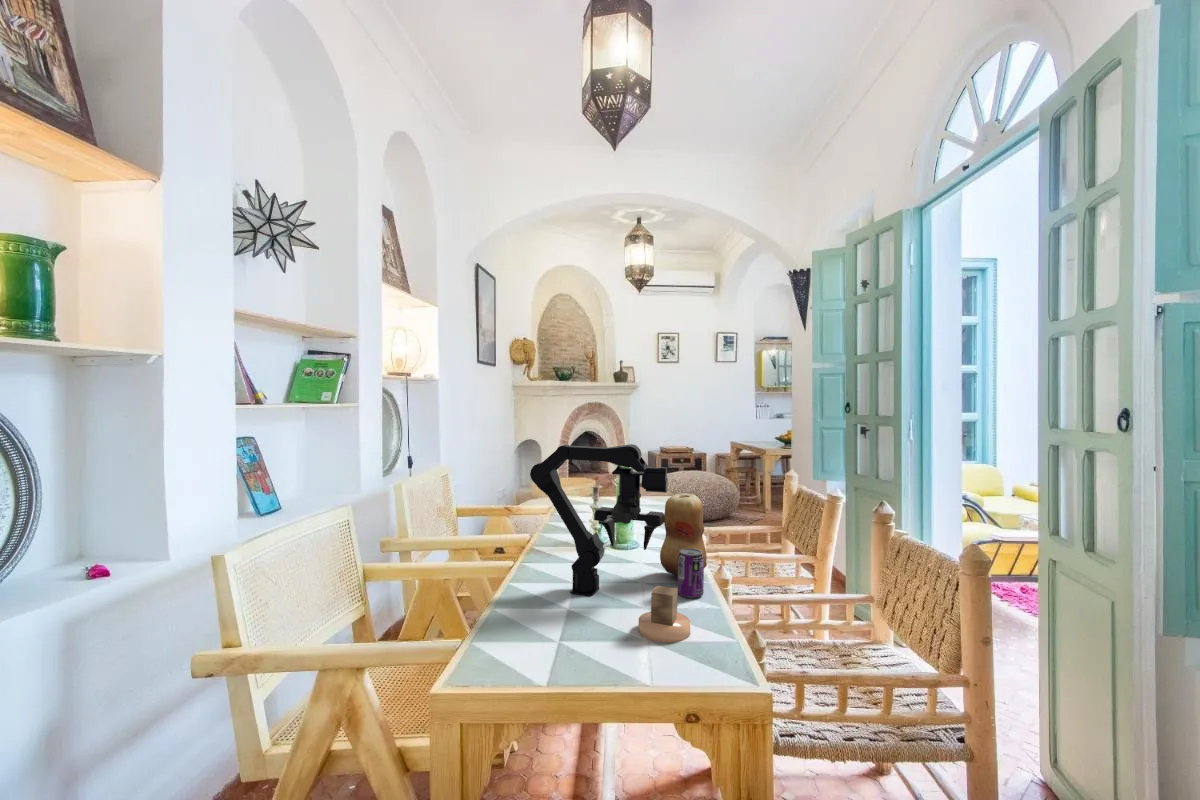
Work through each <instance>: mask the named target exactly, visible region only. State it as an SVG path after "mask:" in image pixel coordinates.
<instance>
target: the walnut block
mask: <svg viewBox="0 0 1200 800" xmlns="http://www.w3.org/2000/svg"><path fill="white" fill-rule="evenodd" d="M650 611H651V623H656V624H663V625H670V626H673V624H674V622H675V620H676V619H677V613H678V592H677V587H672V586H671V587H670V586H669V587H668V586H662V585H656V586H655V587H654V588H653V589H652V591H651V595H650Z"/></svg>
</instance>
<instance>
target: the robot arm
mask: <svg viewBox="0 0 1200 800" xmlns="http://www.w3.org/2000/svg"><path fill="white" fill-rule="evenodd" d="M567 460H571V461H572V460H573V461H591V462H604V463H605V462H606V463H610V464H613V465H616V467H615V469H614V470H613V471H612V472H611V474H612V475H618V476H619V478H618V495H617V497H616V498H617V501H616V503H615V504H614V506H613V507H607V506H606V507H605V506H601V507H599V508H598V509H596V510H595V511H594V514H593V520H594V521H595V522H596V521H598V524H600V525H602V526H603V527H604V528H605V531H606V533H607V537H608V539H609V542H610V546H611V547H614V546H615V541H616V524H619V523H622V524H625V525H628V524H630V523H631V522H632V521H636V522H637V521H639V522H644V523H645V524H646V525H644V526H643V529H644V535H643V550H644V551H646V550H647V547H648V545H649V543H650V540H651V537H652V535H653V533H654V531H655V529H657V528H659V527H661V526H662V525H664V522H665V516H664V514H665V513H664V512H662V511H652V510H651V511H649V512H647V513H646V514H645V513H641V510H642V509H641V497H642V494H641V488H643V489H644V490H645V492H647V493H664V494H665V493H666V494H667V493H668V487H669V483H668V482H669V479H668V472H667V471H668V470H667V466H661V467H656V466H655V467H653V466H652V467H651V466H649V465H648V464H647V462H646V461H645V460H644V458H643V457H642V451H641V449H640V447H639V446H638V445H636V444H630V443H629V444H623V445H617V446H616V445H615V446H609V447H603V446H589V445H588V446H587V445H586V446H584V445H583V446H581V445H569V444H562V445H560V446H558V447H557V448H556V450H555V451H554V452H552V453H551V454H550V455H549V456H547V457H546V458H545V459H544V460H543V461H542V462H539V463H536V464H534V465H533V466H532V467H531V469H530V471H529V477H530V479H531V481H532V482H533V483H534V485H535V486H536V487H537V488H538V489H539V490H541V492H543V493H544V494H545V495H546V496H547V497H548V498H549V500H550V502H551V503H552V505H553V507H554V508H555V510H556V511H557V513H558V515H559V517H560V518H561V521H562V522H563V523H564V525H565V527H566V529H567V531H568V532H569V533H570V535H571V537H572V538H573V542H574V547H575V550H576V553H577V556H578V557H577V558H576V559H575V561H574V562H573V563H572V564H571V570H572V589H571V590H570V591H569V592H570V594H574V595H581V596H590V597H591V596H593V595H595V594H596V593H597V592H598V590H600V575H599V574H598V568H595V567H596V566H598V564H600V562H601V560H602V559H603V558H604V557H605V555H604V554H605V547H604V545H605V542H604V541H602V540H601V538H600V536H599V533H598V532H597V531H595V532H594V533H593V534H592V533H591V532H590V531H589V530H588V529H587V528H586V525H585V524H584V522H583V520H582V519H581V518H580V516H579V514H578V512H577V511H576V510H575V507H574V505H573V504H572V503H571V501H570V500H569V498H568V496H567V495H566V493H565V491H564V489H563V487H562V485H561V484H562V483H561V479H560V476H559V475H560V474H559V472H558V469H559V468H561V467H562V466H563V464H564V463H565V462H566V461H567Z"/></svg>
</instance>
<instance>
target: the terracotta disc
mask: <svg viewBox="0 0 1200 800" xmlns="http://www.w3.org/2000/svg"><path fill="white" fill-rule="evenodd" d="M638 633H639V635H640V636H641V637H643V638H644V639H647V640H649V641H652V642H657V643H664V644H665V643H669V644H671V643H678V642H682V641H684V640H687V639H688V638H689V637H690V635H691V620H690V618H689V617H688V616H686V615H685V614H683V613H680V612H677V619H676V620H675V622H674V624H673V626H670V625H663V624H656V623H651V610H650V611H647V612H644V613H642V614H640V616H639V617H638Z"/></svg>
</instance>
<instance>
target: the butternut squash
mask: <svg viewBox="0 0 1200 800" xmlns="http://www.w3.org/2000/svg"><path fill="white" fill-rule="evenodd" d="M664 505H665V506H664V513H663V514H664V516H665V522H664V523H663V525H664V529H665V530H664V531H665V538H664V541H663V543H662V546H661V548H660V551H659V560H660V564H661V567H663V568H664V570H665V572H667V573H668V574H670V575H672V576H674V577H676V578H677V579H678V556H679V554H680V550H682V549H697V550H700V551H702V556H703V558H704V569H705V568H706V567H707V564H708V563H707V556H708V555H707V549H706V545H705V543H704V538H703V535H704V533H705V526H704V519H703V518H704V517H703V515H704V514H703V513H704V505H703V503H702V501H701V499H700V498H699V497H698V496H697V495H696V494H692V493H687V492H686V493H685V492H682V493H677V494H673V495H671V496H670V497H669V498H668V499H667V500H666V501H665V504H664Z"/></svg>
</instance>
